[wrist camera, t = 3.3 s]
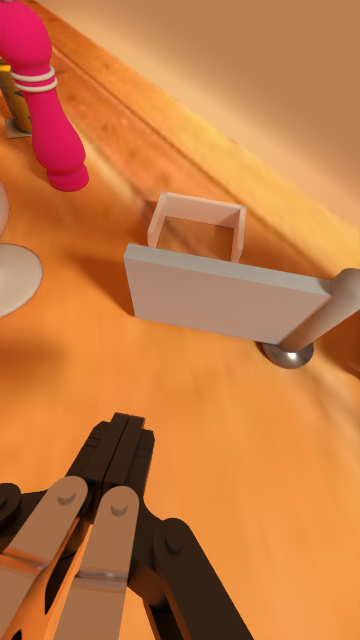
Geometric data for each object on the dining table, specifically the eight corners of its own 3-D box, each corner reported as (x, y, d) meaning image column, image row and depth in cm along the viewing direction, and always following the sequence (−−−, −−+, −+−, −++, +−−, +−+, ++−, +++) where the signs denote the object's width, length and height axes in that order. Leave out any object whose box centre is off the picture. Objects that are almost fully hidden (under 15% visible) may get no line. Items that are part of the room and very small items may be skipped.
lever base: (307, 327, 30) (311, 324, 29) (311, 373, 27) (315, 371, 26) (260, 318, 30) (262, 315, 29) (259, 363, 27) (262, 361, 26)
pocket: (239, 225, 38) (246, 206, 35) (235, 267, 34) (243, 249, 30) (161, 211, 38) (161, 191, 35) (148, 251, 34) (147, 232, 31)
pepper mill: (53, 166, 42) (-26, -38, 24) (95, 169, 42) (47, -30, 24) (42, 192, 38) (-60, -24, 21) (87, 195, 39) (25, -14, 21)
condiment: (55, 134, 47) (23, 43, 36) (8, 139, 45) (-40, 44, 34) (50, 116, 50) (19, 27, 39) (5, 120, 48) (-39, 28, 37)
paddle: (301, 331, 28) (374, 272, 18) (302, 355, 27) (383, 304, 17) (140, 301, 29) (129, 227, 19) (133, 322, 27) (118, 254, 17)
